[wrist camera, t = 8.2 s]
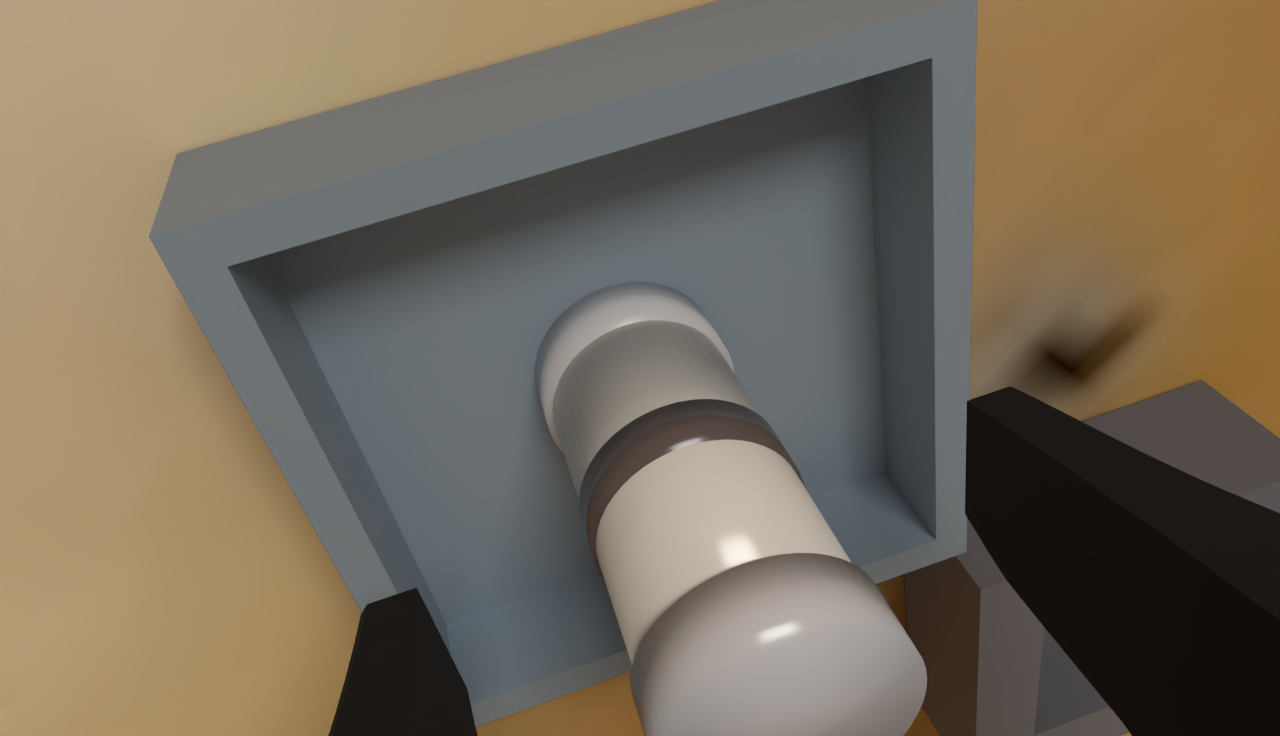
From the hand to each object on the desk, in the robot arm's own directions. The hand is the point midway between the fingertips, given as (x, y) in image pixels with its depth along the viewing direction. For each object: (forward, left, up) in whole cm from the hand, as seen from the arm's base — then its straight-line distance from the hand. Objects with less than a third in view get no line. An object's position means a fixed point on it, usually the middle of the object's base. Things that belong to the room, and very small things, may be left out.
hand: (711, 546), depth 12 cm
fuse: (0, 0, -4) cm, 4 cm away
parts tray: (0, 0, -5) cm, 5 cm away
